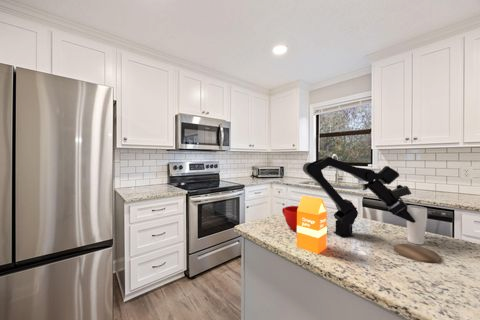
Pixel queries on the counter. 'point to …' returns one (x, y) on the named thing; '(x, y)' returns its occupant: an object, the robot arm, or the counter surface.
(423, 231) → the white tapered cylinder
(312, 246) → the orange juice
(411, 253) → the walnut coaster
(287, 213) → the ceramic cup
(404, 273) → the counter surface
